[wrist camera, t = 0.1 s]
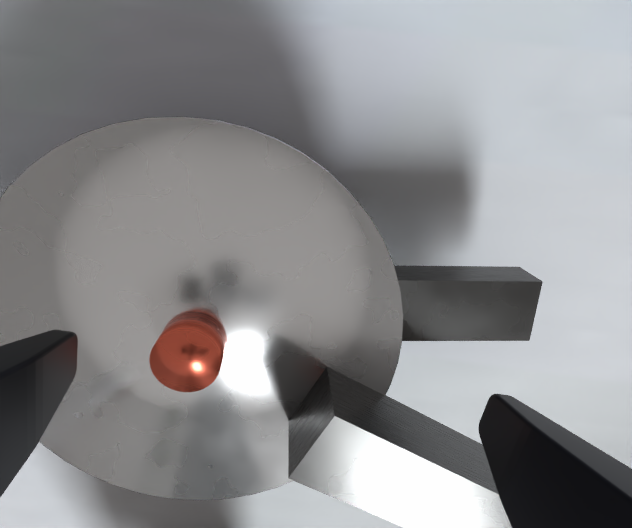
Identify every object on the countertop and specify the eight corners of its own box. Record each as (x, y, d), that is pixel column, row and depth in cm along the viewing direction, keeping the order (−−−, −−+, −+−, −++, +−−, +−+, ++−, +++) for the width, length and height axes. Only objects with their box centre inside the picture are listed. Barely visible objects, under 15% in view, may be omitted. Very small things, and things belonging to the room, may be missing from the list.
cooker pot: (50, 384, 25) (-36, 478, 18) (-3, 122, 20) (-145, 121, 14) (464, 380, 27) (521, 465, 20) (506, 138, 22) (599, 145, 15)
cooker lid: (-68, 391, 17) (-169, 468, 13) (85, 14, 13) (2, -29, 9) (418, 583, 22) (444, 675, 19) (629, 359, 18) (715, 419, 15)
